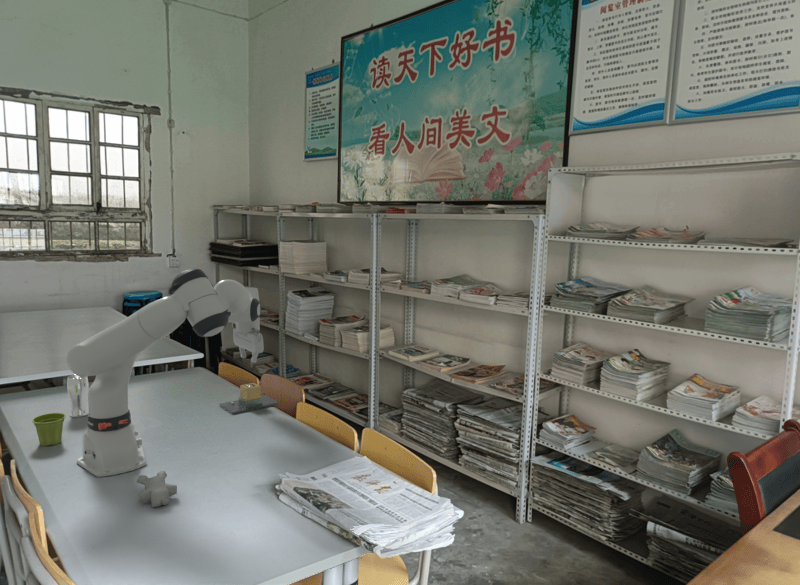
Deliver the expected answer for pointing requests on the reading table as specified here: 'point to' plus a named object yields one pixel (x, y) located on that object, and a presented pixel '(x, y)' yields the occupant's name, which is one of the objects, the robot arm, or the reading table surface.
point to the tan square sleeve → (250, 392)
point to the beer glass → (78, 395)
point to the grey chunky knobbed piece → (156, 489)
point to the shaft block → (248, 404)
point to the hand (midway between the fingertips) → (248, 359)
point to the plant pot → (49, 428)
